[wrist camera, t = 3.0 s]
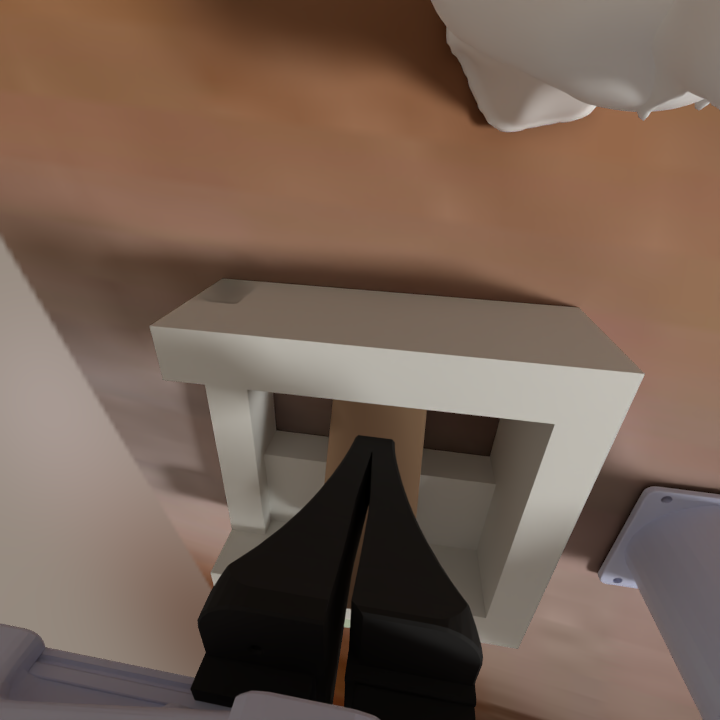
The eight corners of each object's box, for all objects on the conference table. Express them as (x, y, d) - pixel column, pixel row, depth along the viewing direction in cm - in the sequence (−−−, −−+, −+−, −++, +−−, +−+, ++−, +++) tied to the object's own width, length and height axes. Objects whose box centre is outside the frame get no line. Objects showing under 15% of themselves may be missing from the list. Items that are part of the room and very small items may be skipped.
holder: (579, 307, 16) (645, 373, 12) (498, 548, 24) (518, 648, 19) (222, 278, 18) (149, 325, 13) (255, 513, 26) (216, 596, 21)
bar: (422, 396, 20) (427, 401, 16) (405, 573, 20) (406, 618, 16) (345, 387, 20) (333, 391, 17) (327, 561, 20) (312, 602, 16)
